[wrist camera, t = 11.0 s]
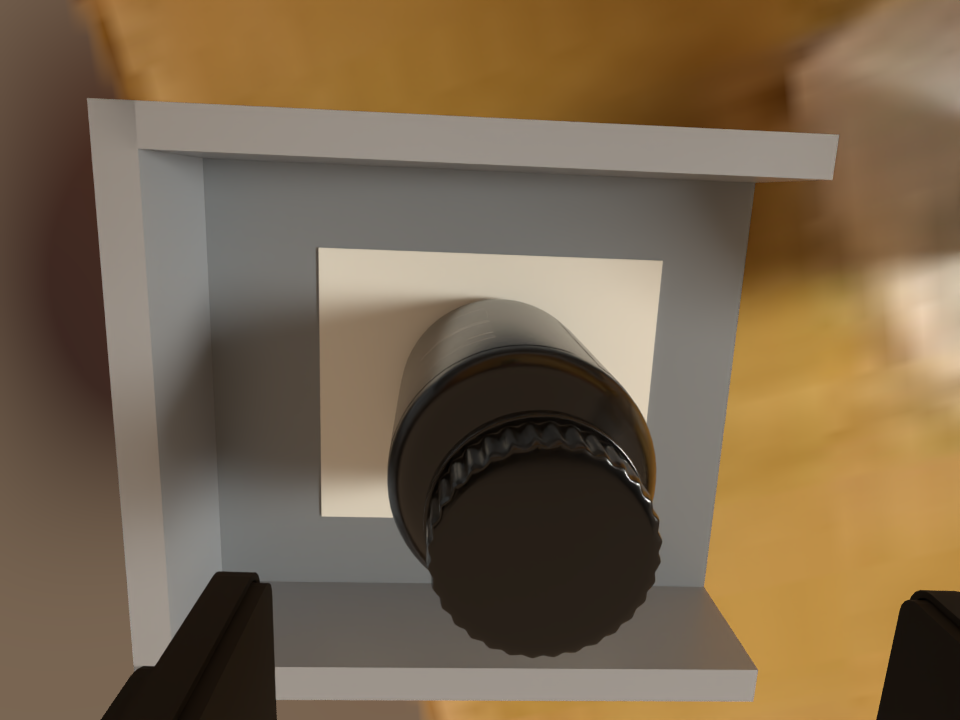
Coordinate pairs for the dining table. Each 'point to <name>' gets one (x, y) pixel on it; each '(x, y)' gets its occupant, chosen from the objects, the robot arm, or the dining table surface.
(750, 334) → the dining table surface
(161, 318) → the dock
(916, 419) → the dining table surface
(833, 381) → the dining table surface
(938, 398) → the dining table surface
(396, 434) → the supplement bottle
